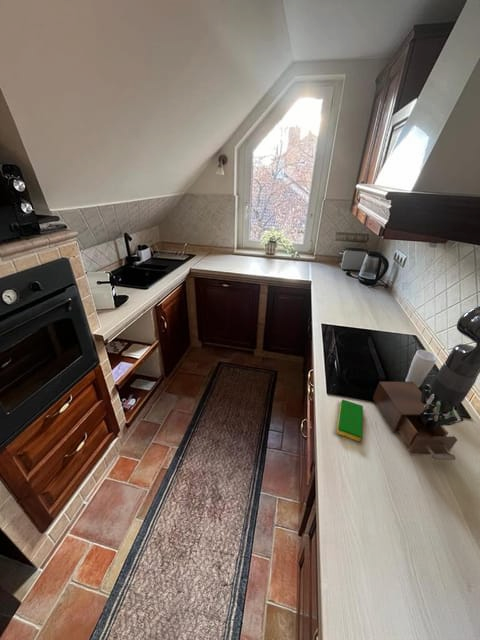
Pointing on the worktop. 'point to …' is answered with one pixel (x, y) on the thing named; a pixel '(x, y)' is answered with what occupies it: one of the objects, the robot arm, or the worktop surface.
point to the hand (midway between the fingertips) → (428, 422)
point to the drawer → (426, 439)
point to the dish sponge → (350, 420)
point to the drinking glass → (420, 367)
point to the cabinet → (398, 401)
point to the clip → (426, 419)
